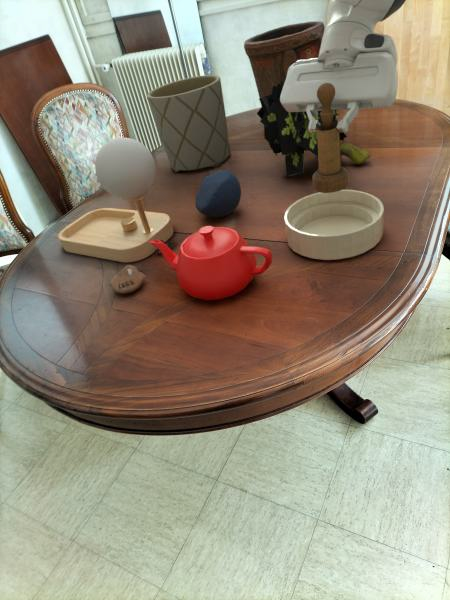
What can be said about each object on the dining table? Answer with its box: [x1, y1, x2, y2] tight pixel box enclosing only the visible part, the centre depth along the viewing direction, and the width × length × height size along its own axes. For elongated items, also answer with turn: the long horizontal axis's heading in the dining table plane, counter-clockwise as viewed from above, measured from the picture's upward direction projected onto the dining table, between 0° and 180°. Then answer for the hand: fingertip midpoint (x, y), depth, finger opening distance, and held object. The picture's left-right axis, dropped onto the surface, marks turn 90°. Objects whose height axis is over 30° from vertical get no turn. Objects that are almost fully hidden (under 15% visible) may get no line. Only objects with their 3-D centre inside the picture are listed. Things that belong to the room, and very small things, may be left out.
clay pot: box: [243, 20, 326, 107], centre depth 136 cm, size 25×29×30 cm
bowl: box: [283, 189, 385, 261], centre depth 85 cm, size 19×19×6 cm
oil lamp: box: [108, 264, 147, 294], centre depth 87 cm, size 9×4×8 cm
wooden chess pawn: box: [312, 83, 349, 193], centre depth 75 cm, size 7×6×18 cm
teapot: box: [149, 225, 273, 301], centre depth 79 cm, size 25×16×12 cm, turn 69°
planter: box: [146, 74, 231, 173], centre depth 133 cm, size 23×23×24 cm
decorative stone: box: [195, 169, 242, 218], centre depth 103 cm, size 12×12×10 cm
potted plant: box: [256, 81, 371, 178], centre depth 110 cm, size 21×22×30 cm
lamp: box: [57, 137, 175, 263], centre depth 98 cm, size 33×17×25 cm, turn 59°
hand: (327, 131), depth 73 cm, fingers closed on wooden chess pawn, 4 cm apart
